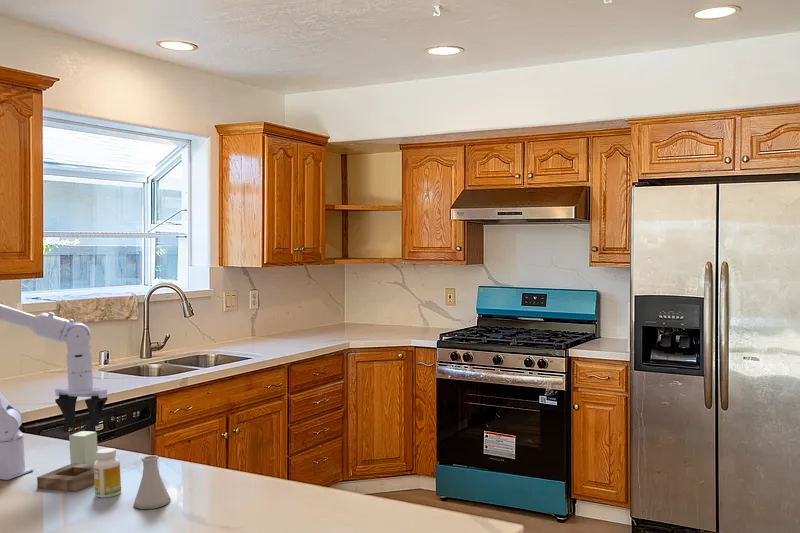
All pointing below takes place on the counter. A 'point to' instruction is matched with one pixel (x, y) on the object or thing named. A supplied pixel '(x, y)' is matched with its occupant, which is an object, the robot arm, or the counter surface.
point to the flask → (151, 486)
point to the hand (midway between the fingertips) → (82, 425)
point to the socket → (68, 478)
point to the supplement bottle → (107, 473)
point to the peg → (83, 447)
